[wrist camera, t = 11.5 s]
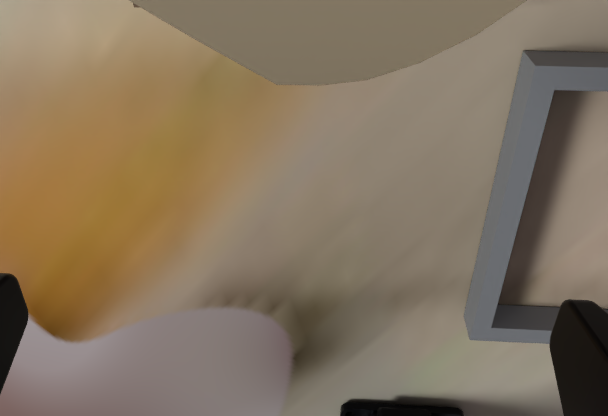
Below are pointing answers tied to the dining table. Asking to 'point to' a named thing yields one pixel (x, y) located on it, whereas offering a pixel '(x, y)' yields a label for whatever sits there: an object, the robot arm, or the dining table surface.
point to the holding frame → (522, 192)
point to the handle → (328, 33)
